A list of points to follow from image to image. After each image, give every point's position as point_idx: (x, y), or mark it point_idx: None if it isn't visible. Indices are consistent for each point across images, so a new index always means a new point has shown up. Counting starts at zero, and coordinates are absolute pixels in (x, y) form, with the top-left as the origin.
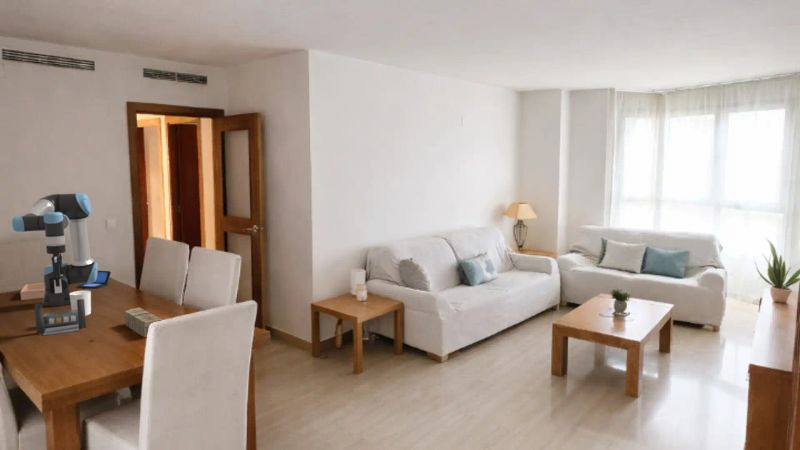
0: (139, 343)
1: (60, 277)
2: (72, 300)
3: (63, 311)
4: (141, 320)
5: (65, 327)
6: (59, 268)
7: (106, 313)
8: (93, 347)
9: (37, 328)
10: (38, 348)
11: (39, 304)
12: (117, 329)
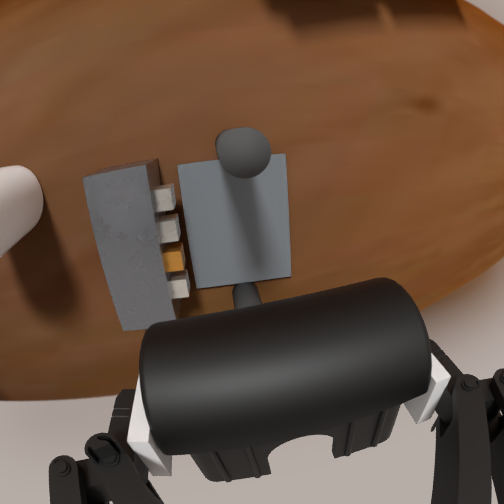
0: (478, 9)
1: (472, 386)
2: (3, 250)
3: (105, 260)
4: None
5: (212, 216)
6: (490, 491)
7: (32, 95)
8: (477, 108)
9: None
10: (420, 253)
11: None
12: (329, 13)
